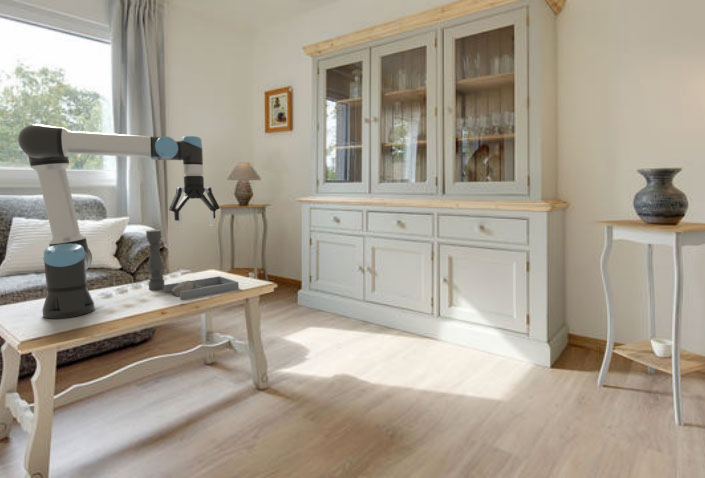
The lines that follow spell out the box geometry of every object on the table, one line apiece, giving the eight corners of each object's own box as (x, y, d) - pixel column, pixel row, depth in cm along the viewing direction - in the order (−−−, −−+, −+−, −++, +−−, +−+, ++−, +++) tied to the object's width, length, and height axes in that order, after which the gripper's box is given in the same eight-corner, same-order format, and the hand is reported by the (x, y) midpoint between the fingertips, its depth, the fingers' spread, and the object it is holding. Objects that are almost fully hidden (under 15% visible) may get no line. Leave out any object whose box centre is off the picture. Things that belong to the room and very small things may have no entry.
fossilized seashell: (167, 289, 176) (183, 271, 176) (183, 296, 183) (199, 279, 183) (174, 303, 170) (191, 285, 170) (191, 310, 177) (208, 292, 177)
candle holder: (167, 286, 188) (164, 229, 185) (159, 290, 182) (156, 231, 179) (154, 286, 188) (150, 229, 185) (145, 290, 182) (142, 231, 179)
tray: (181, 299, 167) (180, 291, 167) (164, 291, 179) (164, 284, 179) (238, 288, 184) (238, 281, 184) (220, 282, 196) (219, 276, 196)
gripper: (217, 176, 186) (219, 224, 189) (158, 175, 169) (161, 229, 171) (226, 175, 181) (228, 226, 183) (165, 174, 163) (168, 230, 166)
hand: (196, 227), depth 177 cm, fingers open, 13 cm apart
